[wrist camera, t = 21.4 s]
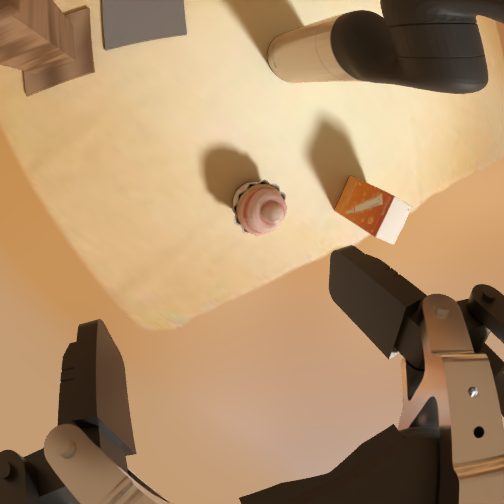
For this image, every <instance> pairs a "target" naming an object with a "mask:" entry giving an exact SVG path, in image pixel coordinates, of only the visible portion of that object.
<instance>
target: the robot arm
mask: <svg viewBox="0 0 504 504" xmlns="http://www.w3.org/2000/svg"><path fill="white" fill-rule="evenodd" d="M380 4H381V9H382V13H383V17H384V18H383V17H381V16H380V15H378V14H376V13H374V12H371V11H365V10H359V11H353V12H349V13H345V14H342V15H338V16H335V17H331V18H328V19H325V20H322V21H318V22H315V23H312V24H309V25H306V26H303V27H300V28H298V29H295V30H292V31H289V32H287V33H284V34H282V35H279V36H277V37H276V38H275V39H274V40H273V41H272V42H271V44H270V46H269V48H268V52H267V58H268V63H269V65H270V67H271V69H272V71H273V72H274V73H275V74H276V75H277V76H278V77H279V78H281V79H282V80H284V81H287V82H291V83H302V82H328V81H369V82H374V83H385V84H395V85H401V86H407V87H413V88H418V89H424V90H430V91H436V92H443V93H454V94H465V93H473V92H476V91H479V90H481V89H483V88H484V87H485V86H486V85H487V83H488V70H487V64H486V59H485V54H484V49H483V45H482V41H481V36H480V33H479V29H478V25H477V24H475V23H477V21H476V15H482V16H485V17H488V18H491V19H493V20H496V21H499V22H501V23H504V0H381V1H380ZM329 291H330V295H331V297H332V299H333V301H334V302H335V303H336V304H337V305H338V306H339V307H340V308H341V309H342V310H343V311H344V312H345V313H346V314H347V315H348V317H350V319H351V320H352V321H353V322H354V323H355V324H356V325H357V326H358V327H359V328H360V329H361V330H362V331H363V332H364V333H365V334H366V335H367V337H368V338H369V339H370V340H371V341H372V342H373V343H374V344H375V345H376V346H377V347H378V348H379V349H380V350H381V351H382V353H383V354H384V355H385V356H386V357H387V358H388V359H390V358H392V357H394V356H395V355H397V354H398V353H400V354H401V355H402V356H403V357H402V361H401V368H402V389H403V408H402V413H401V416H400V420H399V425H398V429H397V428H396V427H395V425H394V424H393V425H391V426H390V427H388V428H387V429H385V430H384V431H382V432H381V433H379V434H377V435H376V436H374V437H372V438H371V439H369V440H367V441H366V442H364V443H362V444H361V445H360V446H359V447H358V448H357V449H356V450H355V451H354V452H352V453H351V455H349V456H348V457H347V458H346V459H345V460H344V461H343V462H342V463H340V464H339V465H338V466H337V467H336V468H335V469H333V470H332V471H331V472H329V473H327V474H324V475H320V476H315V477H311V478H306V479H301V480H296V481H290V482H284V483H280V484H278V485H275V486H272V487H270V488H267V489H264V490H261V491H259V492H256V493H253V494H250V495H246V496H243V497H240V498H239V499H240V501H241V504H504V429H503V422H502V416H501V414H502V415H503V417H504V362H503V361H502V360H501V359H500V358H499V357H498V356H497V355H496V354H495V353H494V352H493V351H492V350H491V349H490V348H489V347H488V346H487V345H486V344H485V341H486V339H487V337H488V335H489V334H490V332H492V333H493V334H494V335H495V336H496V337H497V338H498V339H500V340H501V341H502V342H503V343H504V295H502V294H501V293H500V292H499V291H498V290H496V289H495V288H493V287H491V286H489V285H484V284H480V285H476V286H475V287H474V288H473V290H472V292H471V295H470V297H469V299H465V300H461V301H457V302H456V301H454V300H453V299H452V298H450V297H448V296H446V295H442V294H431V295H429V296H427V295H426V294H424V293H423V292H422V291H421V290H419V289H418V288H417V287H416V286H414V285H413V284H412V283H410V282H409V281H408V280H407V279H405V278H404V277H403V276H401V275H398V273H397V272H396V271H394V270H393V269H392V268H391V269H390V267H389V266H388V265H387V264H385V263H384V262H383V261H381V260H380V259H378V258H375V257H372V256H370V255H367V254H364V253H363V252H362V251H360V250H359V249H357V248H356V247H355V246H352V245H350V246H347V247H344V248H341V249H338V250H335V251H333V252H332V253H331V258H330V276H329ZM133 454H136V449H135V444H134V438H133V432H132V425H131V419H130V411H129V403H128V395H127V386H126V377H125V367H124V362H123V359H122V356H121V354H120V352H119V350H118V348H117V346H116V345H115V343H114V341H113V339H112V337H111V335H110V334H109V332H108V330H107V328H106V326H105V324H104V323H103V321H102V320H101V319H98V320H94V321H91V322H87V323H83V324H80V325H79V327H78V333H77V341H76V342H74V343H70V344H69V346H68V348H67V350H66V352H65V354H64V356H63V362H62V372H61V383H60V393H59V410H58V426H57V427H55V428H54V429H52V431H50V433H49V434H48V436H47V438H46V439H45V443H44V448H43V449H41V450H39V451H37V452H34V453H32V454H30V455H28V456H25V457H21V456H20V455H19V454H17V453H16V452H14V451H12V450H4V451H2V452H0V504H173V503H171V502H170V501H169V500H167V499H166V498H165V497H163V496H162V495H161V494H159V493H158V492H157V491H155V490H154V489H153V488H151V487H150V486H149V485H148V484H146V483H145V482H144V481H143V480H142V479H140V478H139V477H138V476H137V475H136V474H135V473H133V472H132V471H131V470H130V469H129V468H127V463H126V457H125V456H127V455H133Z"/></svg>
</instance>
